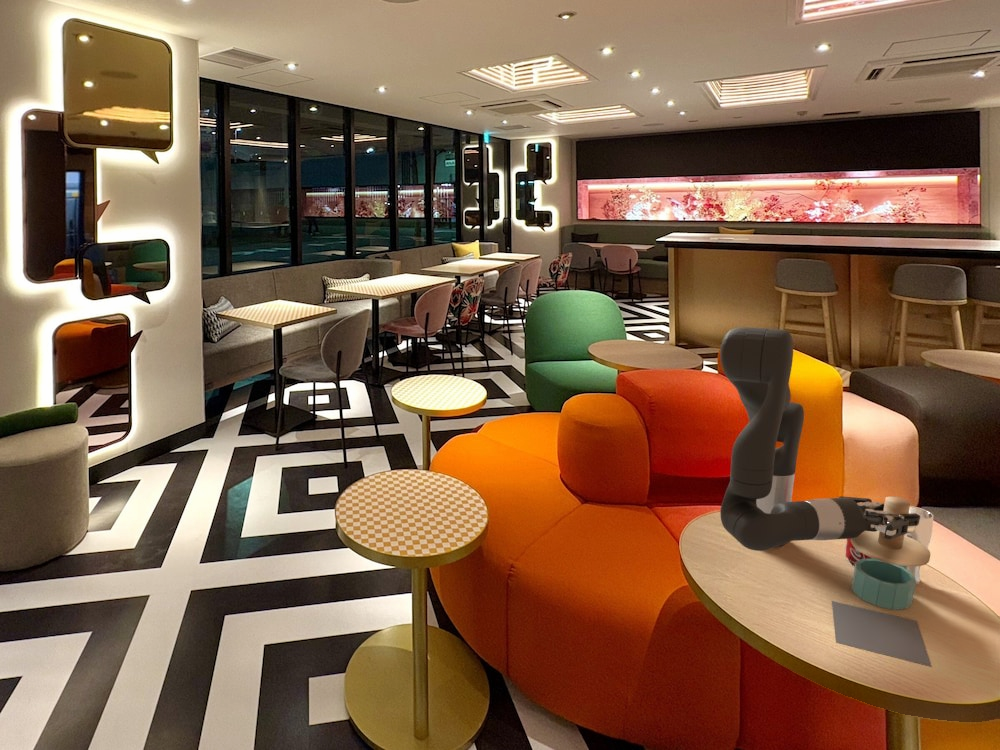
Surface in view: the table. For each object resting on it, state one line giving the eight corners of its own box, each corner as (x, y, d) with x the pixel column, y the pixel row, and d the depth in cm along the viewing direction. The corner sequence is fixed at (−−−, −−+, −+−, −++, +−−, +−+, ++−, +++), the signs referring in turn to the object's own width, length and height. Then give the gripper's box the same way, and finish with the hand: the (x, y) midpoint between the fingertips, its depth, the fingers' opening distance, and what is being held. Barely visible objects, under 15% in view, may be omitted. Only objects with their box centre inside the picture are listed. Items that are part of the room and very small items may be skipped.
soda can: (886, 572, 132) (895, 520, 130) (850, 567, 134) (858, 516, 131) (873, 555, 139) (882, 506, 137) (839, 551, 141) (847, 502, 138)
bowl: (854, 602, 121) (858, 577, 120) (849, 578, 130) (853, 554, 129) (914, 616, 117) (919, 590, 116) (906, 590, 126) (910, 565, 124)
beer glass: (879, 566, 134) (891, 502, 131) (917, 573, 132) (929, 508, 129) (886, 583, 128) (898, 515, 125) (926, 590, 126) (939, 522, 122)
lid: (853, 556, 117) (861, 506, 115) (848, 527, 128) (855, 482, 126) (935, 573, 112) (946, 521, 109) (922, 542, 123) (931, 495, 121)
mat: (835, 644, 108) (836, 642, 108) (831, 602, 121) (831, 600, 121) (931, 668, 103) (931, 666, 103) (916, 622, 115) (916, 620, 115)
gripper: (859, 517, 108) (943, 512, 111) (806, 485, 122) (882, 481, 125) (852, 556, 110) (936, 550, 113) (801, 520, 124) (876, 515, 127)
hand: (907, 514), depth 119 cm, fingers closed on lid, 4 cm apart
